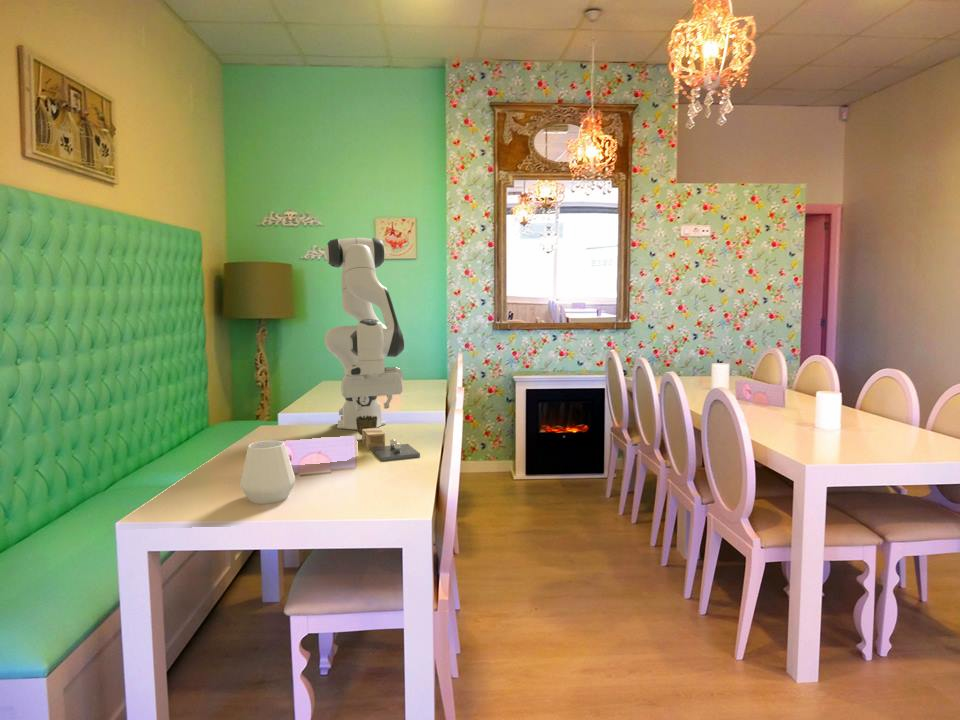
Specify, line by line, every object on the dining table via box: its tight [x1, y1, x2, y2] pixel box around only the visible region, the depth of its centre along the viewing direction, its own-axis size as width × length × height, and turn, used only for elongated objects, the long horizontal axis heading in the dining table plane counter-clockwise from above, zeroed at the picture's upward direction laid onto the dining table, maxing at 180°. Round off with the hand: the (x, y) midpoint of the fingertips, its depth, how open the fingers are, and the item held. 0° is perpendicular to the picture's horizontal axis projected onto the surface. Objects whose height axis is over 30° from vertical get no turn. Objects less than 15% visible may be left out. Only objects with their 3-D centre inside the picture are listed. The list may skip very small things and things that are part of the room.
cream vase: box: [239, 439, 296, 505], centre depth 165 cm, size 13×13×14 cm
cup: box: [356, 415, 377, 436], centre depth 229 cm, size 8×7×8 cm
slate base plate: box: [371, 439, 421, 462], centre depth 208 cm, size 14×12×4 cm
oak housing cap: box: [361, 427, 386, 451], centre depth 220 cm, size 10×6×5 cm, turn 22°
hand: (372, 409), depth 218 cm, fingers open, 8 cm apart
